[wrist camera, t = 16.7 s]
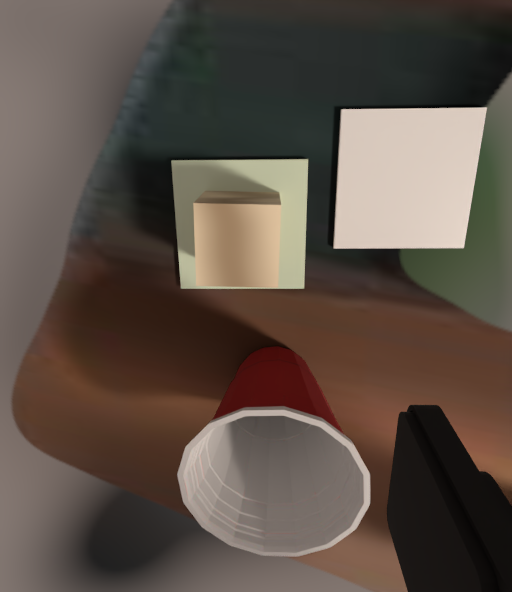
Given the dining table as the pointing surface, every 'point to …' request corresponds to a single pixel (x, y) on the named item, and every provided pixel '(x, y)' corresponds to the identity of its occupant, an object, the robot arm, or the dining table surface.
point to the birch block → (237, 238)
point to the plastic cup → (275, 463)
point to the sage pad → (244, 178)
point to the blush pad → (406, 176)
